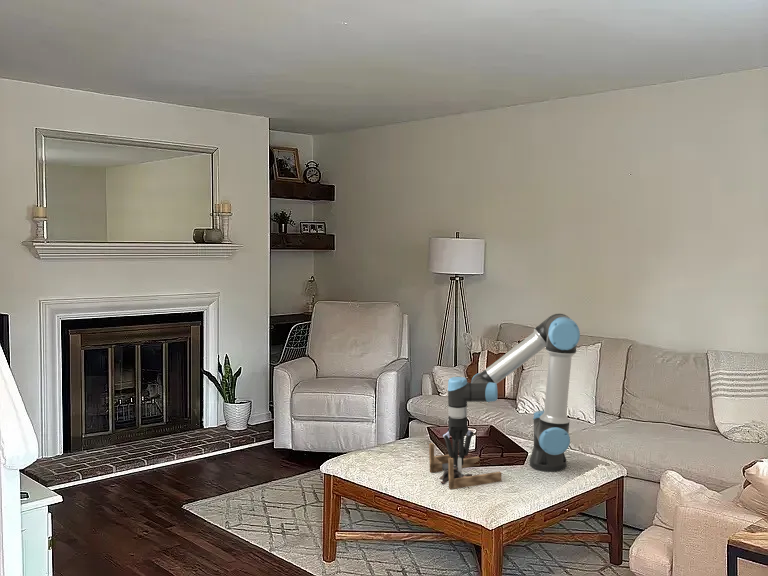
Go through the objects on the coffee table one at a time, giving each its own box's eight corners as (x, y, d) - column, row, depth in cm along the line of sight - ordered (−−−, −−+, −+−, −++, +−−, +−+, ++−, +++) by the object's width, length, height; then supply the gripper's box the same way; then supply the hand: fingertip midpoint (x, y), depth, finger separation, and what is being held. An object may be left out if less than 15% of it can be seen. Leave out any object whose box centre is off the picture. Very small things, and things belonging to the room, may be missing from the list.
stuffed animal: (432, 480, 306) (444, 456, 313) (440, 495, 311) (451, 471, 319) (458, 485, 299) (470, 461, 307) (466, 501, 305) (477, 476, 312)
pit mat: (452, 463, 328) (452, 462, 328) (458, 467, 322) (458, 467, 322) (436, 465, 326) (436, 464, 325) (442, 470, 319) (442, 469, 319)
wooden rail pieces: (470, 459, 332) (470, 431, 331) (501, 481, 306) (501, 451, 304) (422, 466, 325) (422, 438, 324) (450, 489, 298) (449, 459, 297)
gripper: (468, 411, 314) (469, 468, 317) (439, 415, 310) (440, 472, 312) (476, 416, 307) (477, 474, 309) (446, 420, 303) (447, 478, 305)
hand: (458, 473), depth 311 cm, fingers closed
